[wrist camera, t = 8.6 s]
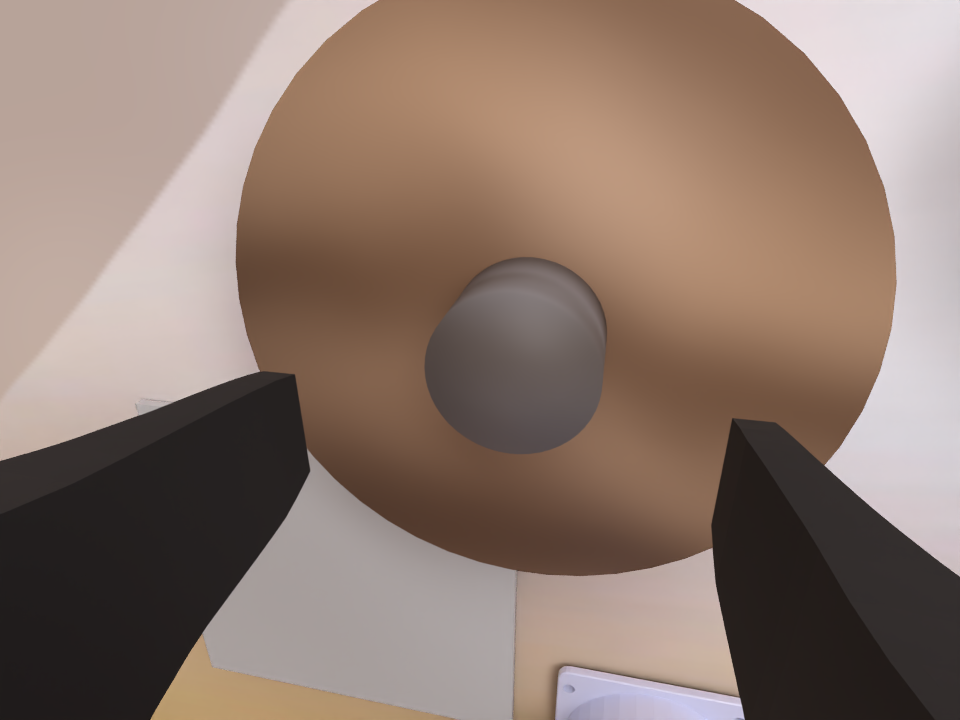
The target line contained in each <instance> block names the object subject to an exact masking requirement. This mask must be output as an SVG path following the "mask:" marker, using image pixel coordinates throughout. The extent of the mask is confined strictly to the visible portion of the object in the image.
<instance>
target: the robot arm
mask: <svg viewBox="0 0 960 720" xmlns="http://www.w3.org/2000/svg"><path fill="white" fill-rule="evenodd" d="M309 473H310V465H309V459H308V452H307V446H306V440H305V433H304V427H303V421H302V415H301V408H300V402H299V396H298V389H297V383H296V377H295V374H288V373H278V372H268V371H262V372H258V373H254V374H250V375H247V376H243V377H240V378H237V379H234V380H231V381H229V382H226V383H223V384H220V385H218V386H215V387H212V388H210V389H207V390H204V391H202V392H199V393H196V394H194V395H191V396H189V397H186V398H184V399H181V400H178V401H176V402H173V403H171V404H168V405H165V406H163V407H160V408H158V409H155V410H153V411H150V412H147V413H145V414H142V415H139V416H137V417H134V418H131V419H128V420H125V421H123V422H120V423H117V424H114V425H111V426H109V427H106V428H103V429H100V430H97V431H95V432H92V433H89V434H86V435H83V436H81V437H78V438H75V439H72V440H69V441H66V442H63V443H60V444H57V445H53V446H50V447H47V448H44V449H41V450H37V451H34V452H30V453H27V454H23V455H20V456H16V457H13V458H9V459H6V460H2V461H0V720H150V719H151V717H152V715H153V714H154V712H155V710H156V708H157V707H158V705H159V703H160V701H161V700H162V698H163V696H164V695H165V693H166V691H167V690H168V688H169V686H170V685H171V683H172V681H173V680H174V678H175V676H176V674H177V673H178V671H179V669H180V668H181V666H182V664H183V663H184V661H185V659H186V658H187V656H188V654H189V653H190V651H191V649H192V648H193V646H194V645H195V644H196V642H197V641H198V639H199V638H200V636H201V635H202V633H203V632H204V630H205V629H206V627H207V626H208V624H209V623H210V622H211V620H212V619H213V618H214V616H215V615H216V613H217V612H218V611H219V609H220V608H221V607H222V605H223V604H224V603H225V601H226V600H227V599H228V597H229V596H230V594H231V593H232V592H233V590H234V589H235V588H236V586H237V585H238V584H239V582H240V581H241V579H242V578H243V577H244V575H245V574H246V573H247V571H248V570H249V569H250V567H251V566H252V565H253V563H254V562H255V561H256V559H257V558H258V556H259V555H260V554H261V552H262V551H263V550H264V548H265V547H266V545H267V544H268V543H269V541H270V540H271V538H272V537H273V536H274V534H275V533H276V531H277V530H278V529H279V527H280V526H281V524H282V523H283V521H284V520H285V519H286V517H287V515H288V513H289V511H290V510H291V508H292V506H293V504H294V502H295V501H296V499H297V497H298V495H299V493H300V491H301V489H302V487H303V485H304V483H305V481H306V479H307V477H308V475H309ZM711 530H712V544H713V558H714V569H715V580H716V587H717V592H718V597H719V602H720V607H721V612H722V616H723V621H724V626H725V631H726V635H727V640H728V644H729V649H730V654H731V658H732V663H733V667H734V672H735V677H736V681H737V686H738V691H739V695H740V698H738V697H733V696H728V695H722V694H717V693H712V692H706V691H701V690H696V689H690V688H685V687H680V686H674V685H669V684H664V683H658V682H653V681H648V680H642V679H637V678H632V677H626V676H621V675H616V674H610V673H605V672H600V671H594V670H589V669H584V668H578V667H573V666H564V667H562V668H561V669H560V670H559V674H558V685H557V699H556V713H555V720H960V577H959V576H958V575H957V574H955V573H954V572H952V571H951V570H950V569H948V568H947V567H946V566H944V565H943V564H942V563H940V562H939V561H938V560H936V559H935V558H934V557H932V556H931V555H930V554H929V553H927V552H926V551H925V550H924V549H922V548H921V547H920V546H918V545H917V544H916V543H915V542H913V541H912V540H911V539H910V538H908V537H907V536H906V535H904V534H903V533H902V532H901V531H899V530H898V529H897V528H896V527H894V526H893V525H892V524H891V523H890V522H888V521H887V520H886V519H885V518H883V517H882V516H881V515H880V514H879V513H877V512H876V511H875V510H874V509H873V508H872V507H870V506H869V505H868V504H867V503H866V502H865V501H863V500H862V499H861V498H860V497H859V496H858V495H856V494H855V493H854V492H853V491H852V490H851V489H850V488H849V487H847V486H846V485H845V484H844V483H843V482H842V481H841V480H840V479H838V478H837V477H836V476H835V475H834V474H833V473H832V472H831V471H830V470H828V469H827V468H826V467H825V466H824V465H823V464H822V463H821V462H820V461H819V460H818V459H817V458H815V457H814V456H813V455H812V454H811V453H810V452H809V451H808V450H807V449H806V448H805V447H803V446H802V445H801V444H800V443H799V442H798V441H797V440H796V439H795V438H794V437H793V436H791V435H790V434H789V433H788V432H787V431H786V430H785V429H783V428H782V427H781V426H780V425H778V424H777V423H776V422H767V421H757V420H747V419H737V418H732V422H731V427H730V432H729V437H728V442H727V447H726V452H725V457H724V462H723V467H722V473H721V478H720V483H719V488H718V493H717V498H716V503H715V508H714V513H713V518H712V523H711Z"/></svg>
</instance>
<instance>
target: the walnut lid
mask: <svg viewBox="0 0 960 720" xmlns="http://www.w3.org/2000/svg"><path fill="white" fill-rule="evenodd" d="M236 270H237V280H238V291H239V300H240V305H241V309H242V314H243V318H244V323H245V327H246V332H247V336H248V339H249V342H250V344H251V347H252V350H253V353H254V356H255V359H256V362H257V365H258V368H259V370H260V372H262V371H268V372H278V373H288V374H295V377H296V383H297V389H298V396H299V402H300V408H301V415H302V421H303V427H304V433H305V440H306V446H307V449H308V450H309V452H310V453H311V454H312V456H313V457H314V458H315V459H316V460H317V461H318V462H319V463H320V464H321V465H322V466H323V467H324V468H325V469H326V470H327V471H328V472H329V474H330V475H331V476H332V477H333V478H334V479H335V480H336V481H337V482H339V483H340V484H341V485H342V486H343V487H344V488H346V489H347V490H348V491H349V492H350V493H351V494H352V495H354V496H355V497H356V498H357V499H358V500H359V501H361V502H362V503H363V504H365V505H366V506H368V507H369V508H370V509H372V510H373V511H375V512H376V513H378V514H379V515H380V516H382V517H383V518H385V519H386V520H387V521H389V522H391V523H393V524H394V525H396V526H398V527H400V528H401V529H403V530H405V531H407V532H408V533H410V534H412V535H414V536H415V537H417V538H419V539H422V540H424V541H426V542H428V543H430V544H433V545H435V546H437V547H439V548H441V549H444V550H446V551H448V552H451V553H454V554H457V555H460V556H463V557H466V558H469V559H472V560H475V561H478V562H481V563H485V564H490V565H494V566H498V567H502V568H506V569H511V570H517V571H524V572H531V573H538V574H546V575H570V576H588V575H604V574H617V573H623V572H629V571H635V570H641V569H647V568H652V567H656V566H660V565H663V564H667V563H670V562H674V561H678V560H681V559H685V558H688V557H690V556H693V555H695V554H698V553H700V552H703V551H705V550H708V549H710V548H713V544H712V530H711V523H712V518H713V513H714V508H715V503H716V498H717V493H718V488H719V483H720V478H721V473H722V467H723V462H724V457H725V452H726V447H727V442H728V437H729V432H730V427H731V422H732V418H737V419H747V420H757V421H767V422H776V423H777V424H778V425H780V426H781V427H782V428H783V429H785V430H786V431H787V432H788V433H789V434H790V435H791V436H793V437H794V438H795V439H796V440H797V441H798V442H799V443H800V444H801V445H802V446H803V447H805V448H806V449H807V450H808V451H809V452H810V453H811V454H812V455H813V456H814V457H815V458H817V459H818V460H819V461H820V462H821V463H822V464H823V465H825V464H826V463H827V461H828V460H829V459H830V458H831V457H832V455H833V454H834V453H835V452H836V451H837V450H838V448H839V447H840V446H841V444H842V443H843V441H844V439H845V438H846V436H847V435H848V433H849V431H850V430H851V428H852V427H853V425H854V423H855V422H856V420H857V419H858V417H859V415H860V414H861V412H862V411H863V408H864V406H865V404H866V401H867V399H868V397H869V395H870V392H871V390H872V388H873V386H874V383H875V381H876V379H877V377H878V374H879V372H880V369H881V365H882V361H883V358H884V354H885V350H886V347H887V343H888V339H889V336H890V332H891V327H892V319H893V310H894V301H895V292H896V261H895V239H894V232H893V227H892V222H891V218H890V213H889V208H888V203H887V198H886V194H885V189H884V186H883V183H882V181H881V178H880V175H879V173H878V170H877V168H876V165H875V163H874V160H873V157H872V155H871V152H870V150H869V147H868V144H867V142H866V140H865V138H864V136H863V135H862V133H861V131H860V129H859V128H858V126H857V124H856V123H855V121H854V119H853V118H852V116H851V114H850V112H849V111H848V109H847V107H846V106H845V104H844V102H843V101H842V99H841V97H840V96H839V94H838V93H837V92H836V91H835V89H834V88H833V87H832V86H831V85H830V83H829V82H828V81H827V80H826V79H825V77H824V76H823V75H822V74H821V73H820V71H819V70H818V69H817V68H816V67H815V65H814V64H813V63H812V62H811V61H810V59H809V58H808V57H807V56H806V55H805V54H804V53H803V52H802V51H801V50H800V49H799V48H798V47H796V46H795V45H794V44H793V43H792V42H791V41H789V40H788V39H787V38H786V37H785V36H784V35H783V34H781V33H780V32H779V31H778V30H777V29H776V28H774V27H773V26H772V25H771V24H770V23H769V22H767V21H766V20H765V19H764V18H763V17H761V16H760V15H758V14H756V13H755V12H753V11H751V10H750V9H748V8H747V7H745V6H743V5H742V4H740V3H738V2H737V1H735V0H379V1H377V2H375V3H374V4H372V5H370V6H369V7H367V8H365V9H364V10H362V11H361V12H360V13H358V14H357V15H356V16H355V17H354V18H352V19H351V20H350V21H349V22H348V23H346V24H345V25H344V26H343V27H342V28H340V29H339V30H338V31H337V32H336V33H334V34H333V35H332V36H331V37H330V38H328V39H327V40H326V41H325V42H324V43H323V44H322V46H321V47H320V48H319V49H318V50H317V51H316V52H315V53H314V55H313V56H312V57H311V58H310V59H309V60H308V61H307V62H306V64H305V65H304V66H303V67H302V68H301V69H300V70H299V71H298V73H297V74H296V75H295V77H294V78H293V80H292V81H291V83H290V84H289V86H288V87H287V89H286V90H285V92H284V93H283V95H282V96H281V98H280V100H279V101H278V103H277V104H276V106H275V107H274V109H273V110H272V112H271V115H270V117H269V119H268V121H267V123H266V125H265V127H264V130H263V132H262V134H261V136H260V138H259V140H258V142H257V145H256V147H255V149H254V153H253V156H252V159H251V162H250V166H249V169H248V172H247V176H246V179H245V182H244V185H243V191H242V197H241V203H240V209H239V215H238V221H237V240H236Z"/></svg>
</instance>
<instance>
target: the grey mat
mask: <svg viewBox="0 0 960 720" xmlns="http://www.w3.org/2000/svg"><path fill="white" fill-rule="evenodd" d="M168 404H171V402H163V401H154V400H146V399H141V400H140V401H138V402H137V403H136V404H135V405H136V408H137V412H138V415H142V414H145V413H147V412H150V411H153V410H155V409H158V408H160V407H163V406H165V405H168ZM307 452H308V459H309V465H310V473H309V475H308V477H307V479H306V481H305V483H304V485H303V487H302V489H301V491H300V493H299V495H298V497H297V499H296V501H295V502H294V504H293V506H292V508H291V510H290V511H289V513H288V515H287V517H286V519H285V520H284V521H283V523H282V524H281V526H280V527H279V529H278V530H277V531H276V533H275V534H274V536H273V537H272V538H271V540H270V541H269V543H268V544H267V545H266V547H265V548H264V550H263V551H262V552H261V554H260V555H259V556H258V558H257V559H256V561H255V562H254V563H253V565H252V566H251V567H250V569H249V570H248V571H247V573H246V574H245V575H244V577H243V578H242V579H241V581H240V582H239V584H238V585H237V586H236V588H235V589H234V590H233V592H232V593H231V594H230V596H229V597H228V599H227V600H226V601H225V603H224V604H223V605H222V607H221V608H220V609H219V611H218V612H217V613H216V615H215V616H214V618H213V619H212V620H211V622H210V623H209V624H208V626H207V627H206V629H205V630H204V632H203V637H204V640H205V644H206V647H207V650H208V654H209V657H210V661H211V664H212V667H214V668H219V669H224V670H228V671H233V672H238V673H242V674H247V675H252V676H257V677H261V678H266V679H271V680H275V681H280V682H285V683H289V684H294V685H299V686H304V687H308V688H313V689H318V690H322V691H327V692H332V693H337V694H341V695H346V696H351V697H355V698H360V699H365V700H369V701H374V702H379V703H384V704H388V705H393V706H398V707H402V708H407V709H412V710H417V711H421V712H426V713H431V714H435V715H440V716H445V717H449V718H454V719H459V720H513V706H514V665H515V623H516V582H517V570H511V569H506V568H502V567H498V566H494V565H490V564H485V563H481V562H478V561H475V560H472V559H469V558H466V557H463V556H460V555H457V554H454V553H451V552H448V551H446V550H444V549H441V548H439V547H437V546H435V545H433V544H430V543H428V542H426V541H424V540H422V539H419V538H417V537H415V536H414V535H412V534H410V533H408V532H407V531H405V530H403V529H401V528H400V527H398V526H396V525H394V524H393V523H391V522H389V521H387V520H386V519H385V518H383V517H382V516H380V515H379V514H378V513H376V512H375V511H373V510H372V509H370V508H369V507H368V506H366V505H365V504H363V503H362V502H361V501H359V500H358V499H357V498H356V497H355V496H354V495H352V494H351V493H350V492H349V491H348V490H347V489H346V488H344V487H343V486H342V485H341V484H340V483H339V482H337V481H336V480H335V479H334V478H333V477H332V476H331V475H330V474H329V472H328V471H327V470H326V469H325V468H324V467H323V466H322V465H321V464H320V463H319V462H318V461H317V460H316V459H315V458H314V457H313V456H312V454H311V453H310V452H309V450H308V449H307Z"/></svg>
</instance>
